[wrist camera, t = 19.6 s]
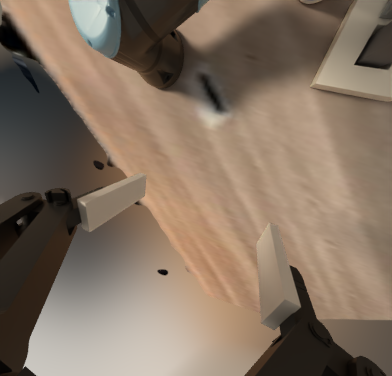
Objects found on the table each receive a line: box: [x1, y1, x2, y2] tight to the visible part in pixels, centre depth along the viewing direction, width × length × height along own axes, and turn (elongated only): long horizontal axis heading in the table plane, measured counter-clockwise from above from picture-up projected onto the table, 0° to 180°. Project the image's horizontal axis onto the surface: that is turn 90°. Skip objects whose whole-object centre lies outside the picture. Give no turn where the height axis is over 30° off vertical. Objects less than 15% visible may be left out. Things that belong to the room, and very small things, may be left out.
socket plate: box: [310, 0, 392, 102], centre depth 29 cm, size 16×14×4 cm
